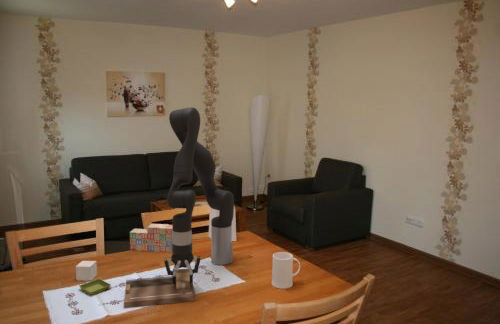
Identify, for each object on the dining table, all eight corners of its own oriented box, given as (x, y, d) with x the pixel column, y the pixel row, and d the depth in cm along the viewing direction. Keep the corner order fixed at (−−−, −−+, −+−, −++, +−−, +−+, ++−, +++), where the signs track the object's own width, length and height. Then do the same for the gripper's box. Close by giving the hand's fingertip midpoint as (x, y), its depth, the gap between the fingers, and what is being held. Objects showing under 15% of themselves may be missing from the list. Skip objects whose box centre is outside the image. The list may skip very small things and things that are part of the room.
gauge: (188, 283, 156) (188, 268, 155) (190, 293, 147) (190, 278, 146) (176, 284, 154) (175, 269, 154) (177, 294, 146) (176, 279, 145)
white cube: (83, 274, 167) (82, 260, 167) (97, 274, 167) (96, 261, 166) (76, 280, 161) (75, 266, 161) (91, 280, 161) (90, 266, 160)
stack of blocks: (129, 250, 195) (129, 226, 193) (134, 246, 201) (134, 222, 200) (172, 252, 193) (171, 228, 191) (175, 248, 199) (175, 224, 197)
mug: (297, 278, 165) (298, 251, 164) (303, 287, 157) (304, 258, 155) (269, 280, 164) (270, 252, 162) (273, 289, 155) (274, 260, 154)
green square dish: (99, 283, 160) (99, 278, 160) (111, 289, 155) (111, 284, 154) (78, 290, 153) (78, 285, 153) (90, 297, 148) (90, 292, 148)
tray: (192, 285, 158) (192, 274, 157) (195, 300, 146) (195, 289, 145) (126, 291, 153) (126, 279, 152) (123, 307, 140) (123, 295, 139)
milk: (208, 237, 216) (208, 190, 212) (228, 234, 220) (228, 188, 217) (215, 244, 205) (215, 194, 201) (236, 241, 209) (236, 193, 206)
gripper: (200, 237, 156) (200, 278, 158) (162, 239, 153) (163, 281, 155) (202, 243, 148) (202, 286, 151) (162, 246, 145) (163, 290, 148)
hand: (182, 283), depth 153 cm, fingers closed on gauge, 5 cm apart
